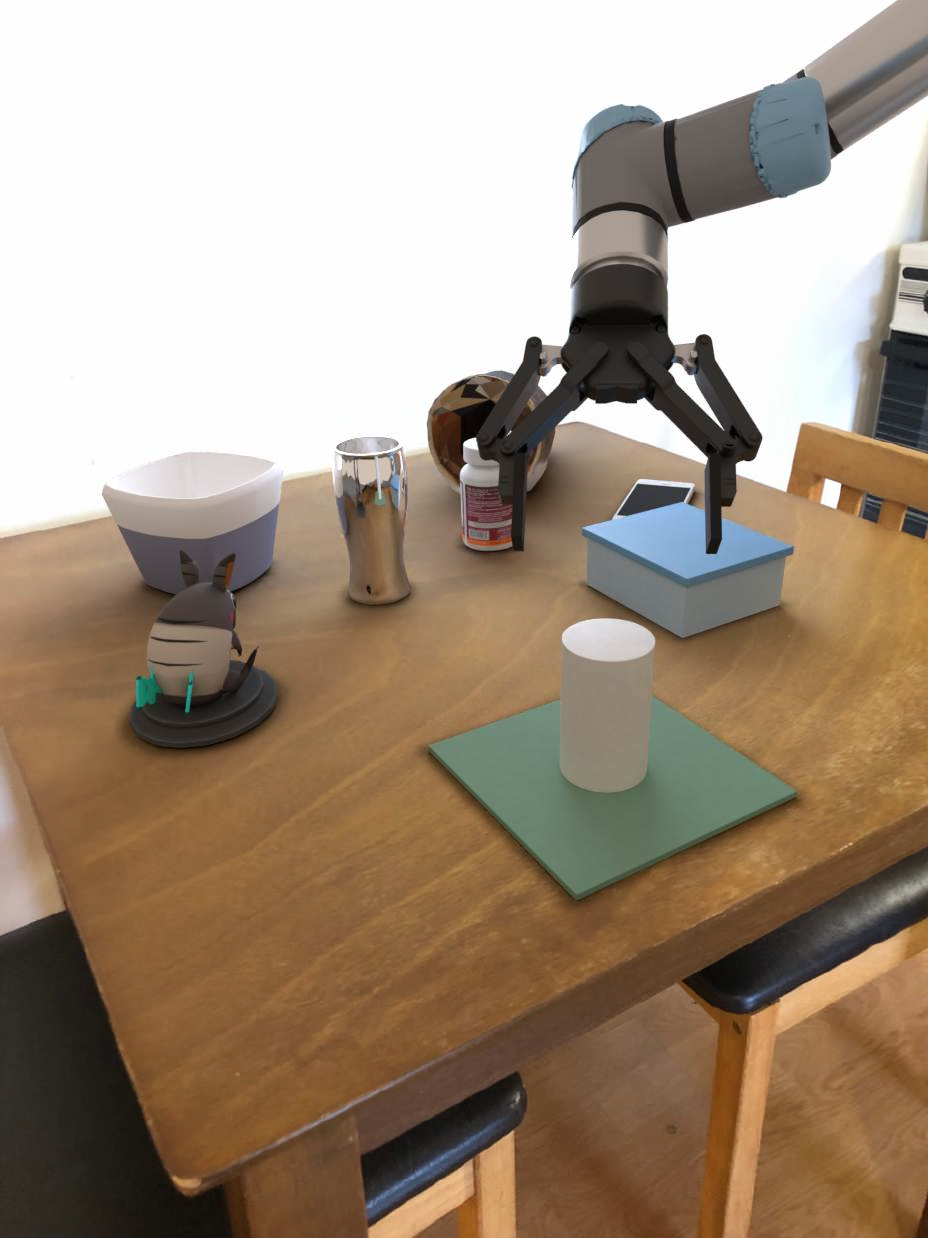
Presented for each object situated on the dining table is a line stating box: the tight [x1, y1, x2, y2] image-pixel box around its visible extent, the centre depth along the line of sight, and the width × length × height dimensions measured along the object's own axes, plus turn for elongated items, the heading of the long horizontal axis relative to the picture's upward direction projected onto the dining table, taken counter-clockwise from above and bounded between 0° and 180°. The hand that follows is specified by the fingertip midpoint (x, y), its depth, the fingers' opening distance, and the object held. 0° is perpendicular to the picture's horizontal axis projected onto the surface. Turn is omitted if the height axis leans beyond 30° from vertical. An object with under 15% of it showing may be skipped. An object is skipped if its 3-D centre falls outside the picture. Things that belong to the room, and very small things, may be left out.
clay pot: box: [426, 370, 556, 495], centre depth 124 cm, size 15×15×25 cm
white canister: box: [560, 618, 657, 793], centre depth 62 cm, size 6×6×10 cm
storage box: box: [581, 502, 795, 639], centre depth 89 cm, size 15×13×6 cm
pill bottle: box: [460, 438, 513, 552], centre depth 101 cm, size 6×6×11 cm
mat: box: [428, 695, 798, 902], centre depth 65 cm, size 18×18×1 cm
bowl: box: [101, 450, 284, 595], centre depth 96 cm, size 15×15×11 cm
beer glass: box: [331, 434, 411, 606], centre depth 89 cm, size 7×7×15 cm
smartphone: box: [611, 478, 696, 520], centre depth 112 cm, size 7×16×1 cm, turn 159°
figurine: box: [129, 550, 279, 749], centre depth 72 cm, size 11×12×12 cm
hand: (614, 545), depth 65 cm, fingers open, 13 cm apart
